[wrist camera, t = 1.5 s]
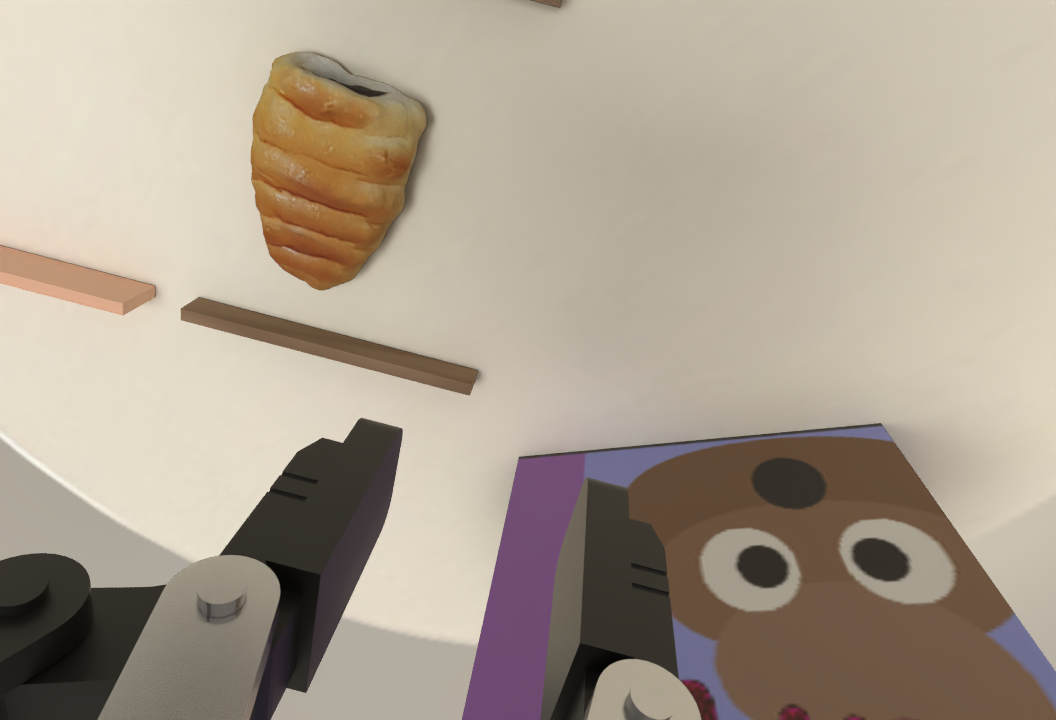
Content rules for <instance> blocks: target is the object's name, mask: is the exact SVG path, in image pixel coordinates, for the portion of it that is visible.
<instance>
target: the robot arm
mask: <svg viewBox="0 0 1056 720" xmlns="http://www.w3.org/2000/svg"><path fill="white" fill-rule="evenodd" d="M402 432H403V431H402V428H398V427H395V426H391V425H387V424H383V423H379V422H375V421H372V420H368V419H364V418H360V419H359V420H358V421H357V423H356V424H355V426H354V427H353V429H352V430H351V432H350V433H349V435H348V436H347V438H346V439H345V441H344V442H343V443H340V442H337V441H333V440H329V439H325V438H321V439H319V440H318V441H316V442H314V443H312V444H311V445H309V446H307V447H305V448H303V449H302V450H300V451H298V452H297V453H296V455H295V456H294V457H293V459H292V460H291V461H290V463H289V464H288V465H287V467H286V468H285V469H284V471H283V473H282V476H281V475H280V476H279V477H278V479H277V480H276V481H275V482H274V484H273V485H272V486H271V488H270V491H269V492H267V493H266V494H265V496H264V497H263V498H262V500H261V501H260V502H259V504H258V505H257V506H256V508H255V509H254V510H253V512H252V513H251V514H250V516H249V517H248V518H247V519H246V521H245V522H244V523H243V525H242V526H241V527H240V529H239V530H238V531H237V533H236V534H235V535H234V537H233V538H232V539H231V541H230V542H229V543H228V545H227V546H226V547H225V549H224V550H223V551H222V553H221V554H220V555H219V556H215V557H210V558H206V559H203V560H200V561H197V562H195V563H193V564H191V565H189V566H187V567H186V568H184V569H182V570H181V571H180V572H178V573H177V574H176V575H175V576H174V577H173V578H172V579H171V580H170V581H169V582H168V583H167V585H161V586H155V587H130V588H127V587H126V588H91V584H90V578H89V575H88V573H87V571H86V569H85V568H84V567H83V566H82V565H81V564H80V563H78V562H76V561H75V560H73V559H71V558H68V557H66V556H61V555H57V554H47V553H40V554H28V555H20V556H16V557H11V558H8V559H5V560H1V561H0V720H270V719H271V717H272V715H273V714H274V712H275V710H276V708H277V705H278V703H279V701H280V700H281V697H282V696H283V693H284V692H285V690H286V688H290V689H293V690H297V691H301V692H305V693H306V692H307V690H308V688H309V686H310V683H311V681H312V679H313V677H314V675H315V673H316V670H317V668H318V666H319V664H320V662H321V660H322V658H323V655H324V653H325V651H326V649H327V647H328V645H329V643H330V640H331V638H332V636H333V634H334V632H335V630H336V627H337V625H338V623H339V621H340V619H341V617H342V615H343V612H344V610H345V608H346V606H347V604H348V602H349V600H350V597H351V595H352V593H353V591H354V589H355V587H356V584H357V582H358V580H359V578H360V576H361V574H362V572H363V569H364V567H365V565H366V563H367V561H368V559H369V556H370V554H371V552H372V550H373V548H374V546H375V544H376V541H377V539H378V537H379V535H380V533H381V530H382V528H383V525H384V523H385V520H386V516H387V513H388V510H389V506H390V502H391V498H392V492H393V486H394V481H395V475H396V470H397V464H398V458H399V453H400V447H401V441H402ZM669 593H670V592H669V583H668V577H667V564H666V555H665V548H664V546H663V544H662V542H661V541H660V539H659V537H658V536H657V534H656V532H655V531H654V529H653V527H652V525H651V524H648V523H645V522H641V521H637V520H633V519H629V498H628V489H627V488H626V487H622V486H619V485H615V484H611V483H607V482H603V481H599V480H596V479H592V478H588V477H586V478H585V480H584V482H583V484H582V487H581V490H580V493H579V496H578V499H577V502H576V505H575V508H574V511H573V514H572V517H571V519H570V522H569V525H568V528H567V531H566V534H565V537H564V540H563V543H562V547H561V550H560V554H559V558H558V563H557V568H556V574H555V581H554V591H553V601H552V610H551V620H550V630H549V640H548V649H547V659H546V669H545V679H544V688H543V698H542V708H541V718H540V720H702V719H701V716H700V712H699V709H698V706H697V704H696V702H695V700H694V698H693V696H692V695H691V693H690V692H689V691H688V689H687V688H686V687H685V686H684V684H683V683H682V682H681V681H680V680H679V675H678V667H677V658H676V648H675V639H674V630H673V620H672V611H671V602H670V598H669Z"/></svg>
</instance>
